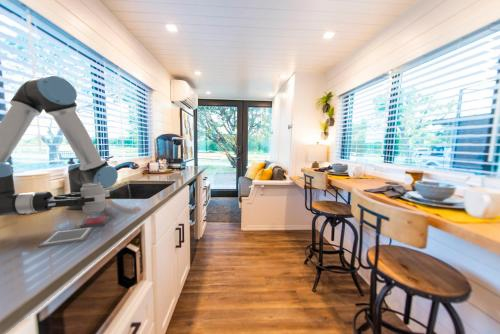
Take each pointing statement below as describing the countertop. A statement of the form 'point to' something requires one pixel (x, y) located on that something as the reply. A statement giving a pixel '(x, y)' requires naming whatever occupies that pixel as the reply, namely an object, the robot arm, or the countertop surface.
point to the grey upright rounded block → (92, 190)
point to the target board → (67, 236)
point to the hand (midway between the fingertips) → (106, 195)
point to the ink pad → (95, 222)
